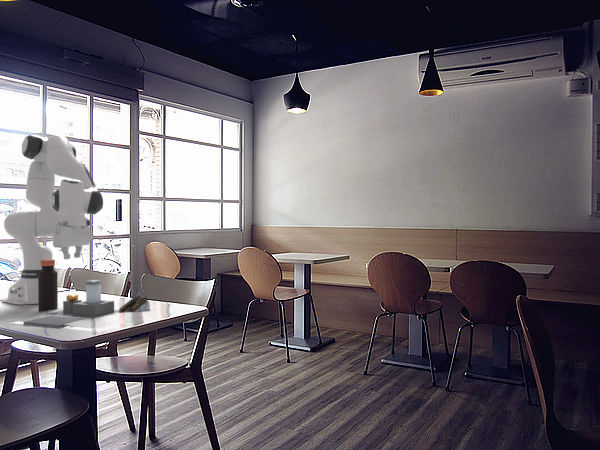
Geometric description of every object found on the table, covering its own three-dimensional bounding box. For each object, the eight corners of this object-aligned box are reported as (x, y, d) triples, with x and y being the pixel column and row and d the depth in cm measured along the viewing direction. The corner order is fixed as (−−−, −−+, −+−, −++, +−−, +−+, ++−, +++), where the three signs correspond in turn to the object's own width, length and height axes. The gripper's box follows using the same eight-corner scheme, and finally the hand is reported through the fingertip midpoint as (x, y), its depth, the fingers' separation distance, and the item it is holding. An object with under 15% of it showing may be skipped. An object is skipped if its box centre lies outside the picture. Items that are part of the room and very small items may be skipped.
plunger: (64, 310, 193) (64, 296, 193) (72, 308, 197) (72, 294, 196) (72, 311, 191) (72, 296, 191) (80, 309, 195) (80, 295, 195)
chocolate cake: (130, 318, 189) (151, 293, 196) (116, 311, 192) (137, 287, 198) (139, 331, 197) (158, 306, 203) (125, 324, 199) (145, 300, 206)
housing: (45, 316, 188) (45, 303, 188) (77, 309, 203) (77, 297, 203) (93, 321, 181) (93, 307, 181) (123, 313, 196) (123, 300, 196)
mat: (23, 324, 175) (23, 321, 175) (51, 318, 186) (51, 315, 186) (60, 328, 169) (60, 325, 169) (86, 321, 180) (86, 318, 180)
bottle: (35, 313, 195) (35, 260, 195) (41, 310, 202) (41, 259, 202) (55, 312, 197) (54, 260, 196) (59, 309, 203) (59, 259, 203)
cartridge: (82, 313, 189) (82, 281, 189) (93, 311, 194) (92, 279, 194) (94, 314, 187) (94, 282, 187) (104, 312, 192) (104, 280, 192)
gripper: (64, 222, 183) (64, 260, 183) (93, 221, 203) (93, 256, 203) (47, 222, 183) (48, 260, 184) (78, 221, 204) (78, 256, 204)
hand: (72, 258), depth 194 cm, fingers open, 6 cm apart
